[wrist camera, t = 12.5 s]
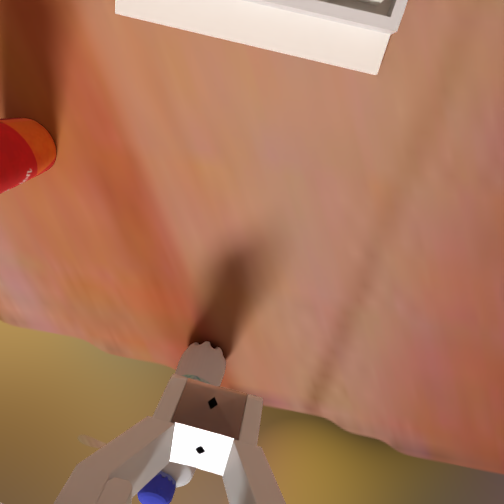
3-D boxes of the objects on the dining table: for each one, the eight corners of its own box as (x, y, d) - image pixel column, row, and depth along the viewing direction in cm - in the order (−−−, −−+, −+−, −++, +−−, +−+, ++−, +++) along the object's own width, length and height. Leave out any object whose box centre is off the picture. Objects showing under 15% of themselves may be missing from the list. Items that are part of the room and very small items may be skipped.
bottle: (185, 331, 49) (114, 476, 31) (232, 340, 49) (187, 494, 31) (183, 365, 52) (118, 515, 35) (227, 375, 52) (184, 532, 34)
